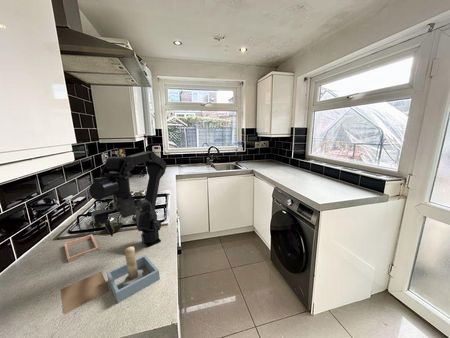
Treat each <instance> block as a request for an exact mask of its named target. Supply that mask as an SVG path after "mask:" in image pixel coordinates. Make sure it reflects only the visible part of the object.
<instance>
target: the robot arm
mask: <svg viewBox="0 0 450 338" xmlns="http://www.w3.org/2000/svg"><path fill="white" fill-rule="evenodd" d="M141 164H143V166H144V167H145V168H146V173H147V175H148V180H147V185H146V186H147V187H146V191H145V196H144V199H141V198H138V199H135V200H134V199H133V195H132V193H131V186H130V178H131V177H133V174H132V173H130V172H131V170H134V167H135V166H138V165H141ZM166 170H167V163H166V161H165V160H164V158H163V157H160V155H157V154H156V153H155V152H154V151H152V150H151V151H150V150H148V151H146V150H145V151H144V150H143V151H142V152H138V153H135V154H131V155H127V156H109V157H107V158H106V161H105V163H104V165H103V167H102V170H101V172H100V174H99V177H96V178H93V182H92V183H91V184H90V186H89V189H88V192H89V195H90V197H91V198H92V199H94V200H96V201H101V200H104V199H107V198H108V197H112V202H113V205H112V206H113V209H109V210H107V209H105V208H100V209H96V210H92V212H91V219H92V221H93V222H94V224H99V225H104V226H105V228H107V230H108V231H109V235H110V237H113V236H114V235H113V234H114V233H113V232H112V228H111V225H110V223H111V220H110V219H109V218H110V217H111V216H115V215H118V214H119V215H120V217H121V218H124V219H125V218H128V217H133V216H135V220H134V221H135V227H136V228H137V231H138V232H141V234H140V236H141V243H142V244H143V245H144V246H145V247H147V248H149V247H151V246H154V245H156V244H158V243H161V241H162V240H161V239H160V234H159V231H160V230H161V228H162V222H161V221H159V219H158V214H157V212H156V204H157V198H158V191H159V186H160V181H161V178H162V177H163V176H164V175H165V173H166Z"/></svg>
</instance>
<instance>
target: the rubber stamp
mask: <svg viewBox="0 0 450 338" xmlns="http://www.w3.org/2000/svg"><path fill="white" fill-rule="evenodd" d="M124 254H125V261H126V262H125V264H127V269H128V274H127V277H126V278H125V279H124V281H123V284H122V286H123V287H125V286H127V285H129V284H131V283H133V282H135V281H137V280H138V279H140V278H142V277H144V273H145V272H144V269H137V263H136V259H137V257H136V250H135V246H128V247H126V248H125V249H124ZM123 287H122V288H123Z"/></svg>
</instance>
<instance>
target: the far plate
mask: <svg viewBox="0 0 450 338" xmlns="http://www.w3.org/2000/svg"><path fill="white" fill-rule="evenodd" d="M108 292H110V288H109V286H108V284H107V281H106V279H105V277H104V274H103V272H102V271H99V272H97V273H94V274H92V275H90V276H88V277H85V278H83V279H81V280H78V281H76V282H75V283H72V284H69V285H67V286H65V287H62V288H60V294H61V304H62V311H63V315H65V314H68V313H70V312H72V311H74V310H75V309H77V308H79V307H82V306H83V305H85V304H87V303H90V302H91V301H93V300H95V299H97V298H98V297H100V296H103V295H105V294H107V293H108Z"/></svg>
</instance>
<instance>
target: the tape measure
mask: <svg viewBox="0 0 450 338" xmlns="http://www.w3.org/2000/svg"><path fill="white" fill-rule="evenodd" d="M123 224H124V223H122V222H110V225H111V228H112V232H113V234H114V233H116V232H119V231H120V230H121V229H122V228H121V226H124V225H123ZM120 228H121V229H120ZM119 229H120V230H119ZM118 230H119V231H118ZM105 231H106V233H109V231H108V230H107V228H106V227H105ZM109 234H110V233H109Z"/></svg>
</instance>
